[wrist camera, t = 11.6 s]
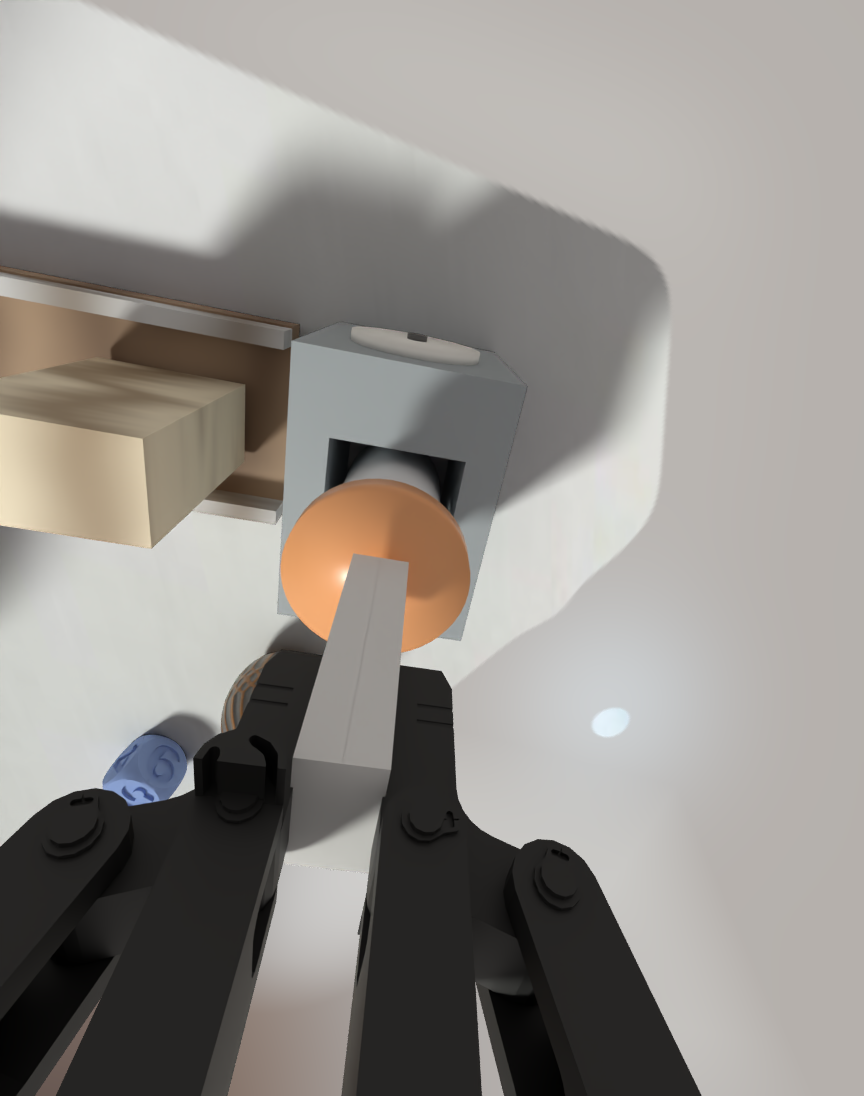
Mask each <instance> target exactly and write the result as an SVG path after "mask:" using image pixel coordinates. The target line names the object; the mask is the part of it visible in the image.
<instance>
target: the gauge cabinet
mask: <svg viewBox="0 0 864 1096" xmlns="http://www.w3.org/2000/svg"><path fill="white" fill-rule="evenodd" d="M526 390H527V385H526V384H525V383H524V382H523V381H522V380H521V379H520V378H519V377H518V376H517V375H516V374H515V373H514V372H513V371H512V370H511V369H510V368H509V367H508V366H507V364H506V363H505V362H504V361H503V360H502V359H501V358H500V357H499V356H498V355H497V354H496V353H495V352H491V351H486V350H481V349H476V348H471V347H467V346H464V345H460V344H457V343H453V342H449V341H445V340H441V339H437V338H433V337H428V336H425V335H421V334H416V333H408V332H402V331H396V330H390V329H383V328H374V327H365V326H360V325H354V324H349V323H344V322H338V323H336V324H333V325H330V326H328V327H325V328H323V329H320V330H318V331H315V332H312V333H310V334H307V335H305V336H302V337H300V338H297V339H295V340H292V341H291V360H290V380H289V399H288V418H287V437H286V456H285V475H284V494H283V513H282V532H281V552H280V565H281V557H282V552H283V549H284V545H285V543H286V541H287V538H288V536H289V534H290V532H291V531H292V529H293V527H294V525H295V524H296V522H297V520H298V519H299V517H300V516H301V514H302V513H303V511H304V510H305V509H306V508H307V507H308V505H309V504H310V503H311V502H312V501H314V500H315V499H316V498H317V497H318V496H320V495H321V494H323V493H324V492H326V491H328V490H329V489H331V488H333V487H336V486H338V485H341V484H343V483H344V481H345V478H346V476H347V474H348V472H349V469H350V467H351V465H352V463H353V461H354V460H355V458H356V457H357V456H358V455H359V454H360V452H362V451H363V450H364V449H365V448H367V447H369V446H370V445H373V446H378V447H384V448H389V449H395V450H401V451H406V452H412V453H417V454H423V455H428V457H429V458H430V459H431V460H432V462H433V464H434V465H435V467H436V470H437V473H438V476H439V485H440V503H441V504H442V505H443V506H444V507H445V508H446V509H447V510H448V511H449V512H450V513H451V515H452V516H453V517H454V519H455V520H456V522H457V523H458V525H459V526H460V529H461V531H462V533H463V535H464V538H465V542H466V545H467V551H468V559H469V566H470V588H469V593H468V597H467V600H466V603H465V605H464V607H463V609H462V611H461V613H460V615H459V616H458V617H457V619H456V620H455V622H454V623H453V624H452V625H451V626H450V627H449V628H448V629H447V630H446V631H445V632H444V633H442V634H441V635H440V636H439V637H437V638H444V639H451V640H458V641H461V639H462V635H463V631H464V627H465V623H466V620H467V616H468V612H469V608H470V604H471V600H472V597H473V593H474V589H475V585H476V581H477V577H478V574H479V570H480V566H481V562H482V558H483V555H484V551H485V547H486V543H487V539H488V535H489V532H490V528H491V524H492V520H493V516H494V513H495V509H496V505H497V501H498V497H499V493H500V490H501V486H502V482H503V478H504V474H505V470H506V467H507V463H508V459H509V455H510V451H511V448H512V444H513V440H514V436H515V432H516V428H517V425H518V421H519V417H520V413H521V409H522V405H523V402H524V398H525V394H526ZM277 614H281V615H288V616H295V617H298V616H297V615H296V613H295V612H294V610H293V609H292V607H291V606H290V604H289V602H288V600H287V598H286V595H285V592H284V589H283V586H282V580H281V566H280V571H279V590H278V609H277Z"/></svg>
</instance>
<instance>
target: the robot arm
mask: <svg viewBox="0 0 864 1096" xmlns="http://www.w3.org/2000/svg"><path fill="white" fill-rule="evenodd" d="M408 567H409V562H404V561H398V560H392V559H385V558H379V557H373V556H367V555H360V554H354V553H353V556H352V560H351V563H350V566H349V570H348V573H347V576H346V580H345V583H344V587H343V590H342V593H341V597H340V600H339V603H338V607H337V610H336V613H335V617H334V620H333V624H332V627H331V630H330V634H329V637H328V640H327V644H326V647H325V651H324V654H323V656H322V655H315V654H308V653H301V652H294V651H287V650H281V651H280V652H278V653H277V654H276V655H275V656H274V657H273V658H272V659H270V660H269V661H268V662H267V663H266V664H265V665H264V667H263V670H262V672H261V674H260V676H259V679H258V681H257V684H256V687H255V688H254V690H253V692H252V694H251V697H250V700H249V702H248V703H247V706H246V708H245V710H244V712H243V715H242V717H241V719H240V721H239V724H238V726H237V728H236V729H233V730H230V731H227V732H224V733H221V734H218V735H217V736H215V737H214V738H212V739H211V740H209V741H208V742H206V743H205V744H204V745H203V746H202V747H201V748H200V750H199V751H198V752H197V754H196V755H195V756H194V758H193V763H194V784H195V789H194V790H192V791H190V792H188V793H186V794H184V795H181V796H178V797H175V798H171V799H167V800H162V801H157V802H151V803H145V804H139V805H134V806H128V804H127V802H126V800H125V799H124V798H123V797H121V796H120V795H118V794H117V793H115V792H114V791H110V790H103V789H97V788H94V789H88V790H82V791H76V792H73V793H70V794H68V795H66V796H63V797H61V798H59V799H56V800H54V801H52V802H51V803H50V804H48V805H47V806H46V807H44V808H43V809H41V810H40V811H39V812H37V813H36V814H35V815H33V816H32V817H31V818H30V819H29V820H28V821H27V822H26V823H25V824H24V825H23V826H22V827H21V828H20V829H19V830H18V831H16V832H15V833H14V834H13V835H12V836H11V837H10V838H9V839H8V840H7V841H6V842H5V843H4V844H3V845H2V846H1V847H0V1096H35V1094H36V1093H37V1091H38V1090H39V1089H40V1087H41V1085H42V1084H43V1083H44V1081H45V1080H46V1078H47V1077H48V1075H49V1074H50V1072H51V1071H52V1069H53V1068H54V1066H55V1065H56V1063H57V1062H58V1060H59V1059H60V1058H61V1056H62V1055H63V1053H64V1052H65V1050H66V1049H67V1047H68V1046H69V1044H70V1043H71V1041H72V1040H73V1038H74V1037H75V1035H76V1034H77V1032H78V1031H79V1030H80V1028H81V1027H82V1025H83V1024H84V1022H85V1020H86V1019H87V1018H88V1016H89V1015H90V1013H91V1012H92V1010H93V1009H94V1007H95V1006H96V1004H97V1003H98V1002H99V1000H100V1002H99V1004H98V1006H97V1008H96V1010H95V1013H94V1015H93V1017H92V1019H91V1021H90V1023H89V1025H88V1028H87V1030H86V1032H85V1034H84V1036H83V1038H82V1040H81V1043H80V1045H79V1047H78V1049H77V1051H76V1054H75V1056H74V1058H73V1060H72V1062H71V1064H70V1066H69V1069H68V1071H67V1073H66V1075H65V1077H64V1080H63V1081H62V1084H61V1086H60V1088H59V1090H58V1092H57V1094H56V1096H227V1095H228V1091H229V1087H230V1083H231V1079H232V1075H233V1071H234V1067H235V1063H236V1059H237V1055H238V1051H239V1047H240V1043H241V1039H242V1035H243V1031H244V1028H245V1023H246V1019H247V1016H248V1012H249V1008H250V1004H251V999H252V996H253V992H254V988H255V984H256V980H257V976H258V972H259V968H260V964H261V960H262V956H263V952H264V948H265V944H266V940H267V936H268V932H269V928H270V924H271V920H272V916H273V912H274V908H275V904H276V897H277V884H278V880H279V877H280V873H281V869H282V865H283V861H284V864H287V865H297V866H305V867H315V868H325V869H333V870H343V871H351V872H361V873H369V876H368V885H367V893H366V898H365V902H364V907H363V912H362V916H361V921H360V925H359V930H358V935H360V939H359V948H358V957H357V965H356V973H355V982H354V991H353V1001H352V1008H351V1018H350V1026H349V1034H348V1043H347V1052H346V1061H345V1070H344V1079H343V1088H342V1095H341V1096H482V1091H481V1074H480V1056H479V1039H478V1022H477V1005H476V988H475V982H476V985H477V989H478V993H479V997H480V1001H481V1005H482V1009H483V1013H484V1017H485V1021H486V1025H487V1029H488V1033H489V1037H490V1041H491V1045H492V1049H493V1053H494V1057H495V1061H496V1065H497V1069H498V1073H499V1077H500V1081H501V1085H502V1089H503V1093H504V1096H701V1094H700V1092H699V1090H698V1087H697V1085H696V1083H695V1081H694V1079H693V1077H692V1075H691V1073H690V1071H689V1069H688V1067H687V1065H686V1063H685V1061H684V1059H683V1057H682V1055H681V1053H680V1050H679V1048H678V1046H677V1044H676V1042H675V1040H674V1038H673V1036H672V1034H671V1032H670V1030H669V1028H668V1026H667V1024H666V1022H665V1020H664V1017H663V1016H662V1013H661V1012H660V1009H659V1007H658V1005H657V1003H656V1001H655V999H654V997H653V995H652V993H651V991H650V989H649V987H648V985H647V982H646V980H645V978H644V976H643V974H642V972H641V970H640V968H639V966H638V964H637V962H636V960H635V958H634V956H633V954H632V952H631V950H630V947H629V946H628V943H627V942H626V939H625V937H624V935H623V933H622V931H621V929H620V927H619V925H618V923H617V921H616V919H615V917H614V915H613V913H612V910H611V908H610V906H609V904H608V903H607V900H606V898H605V896H604V894H603V892H602V890H601V888H600V886H599V884H598V882H597V880H596V878H595V876H594V874H593V873H592V871H591V870H590V868H589V867H588V865H587V864H586V863H585V861H584V860H583V859H582V858H581V857H580V856H579V855H577V854H576V853H575V852H574V851H573V850H572V849H571V848H569V847H567V846H565V845H562V844H560V843H558V842H556V841H553V840H541V839H537V840H535V841H532V842H530V843H527V844H525V845H524V846H523V847H522V848H521V849H518V848H516V847H514V846H511V845H510V844H507V843H505V842H503V841H501V840H499V839H497V838H494V837H492V836H490V835H489V834H487V833H485V832H484V831H482V830H480V829H479V828H478V827H477V826H476V825H475V824H474V823H472V822H471V820H470V819H469V818H468V816H467V815H466V814H465V812H464V811H463V809H462V807H461V805H460V802H459V800H458V795H457V790H456V773H455V772H456V771H455V752H454V750H455V749H454V730H453V712H452V689H451V687H450V685H449V683H448V682H447V680H446V678H445V676H444V674H443V673H442V671H437V670H430V669H423V668H416V667H409V666H402V665H400V659H401V648H402V636H403V625H404V613H405V602H406V590H407V578H408ZM284 857H285V858H284Z"/></svg>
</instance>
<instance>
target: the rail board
mask: <svg viewBox="0 0 864 1096" xmlns="http://www.w3.org/2000/svg"><path fill="white" fill-rule="evenodd" d="M299 327H300V324H295V323H290V322H284V321H279V320H274V319H269V318H264V317H259V316H254V315H249V314H244V313H239V312H233V311H228V310H223V309H218V308H213V307H208V306H203V305H198V304H193V303H188V302H183V301H177V300H172V299H167V298H162V297H157V296H152V295H147V294H142V293H137V292H132V291H126V290H121V289H116V288H111V287H106V286H101V285H96V284H91V283H86V282H81V281H76V280H70V279H65V278H60V277H55V276H50V275H45V274H40V273H35V272H30V271H25V270H20V269H14V268H9V267H4V266H0V378H3V377H7V376H12V375H17V374H21V373H26V372H31V371H35V370H40V369H45V368H50V367H54V366H59V365H64V364H68V363H73V362H78V361H82V360H87V359H92V358H96V357H99V358H105V359H110V360H116V361H121V362H126V363H132V364H137V365H143V366H148V367H154V368H159V369H164V370H170V371H175V372H181V373H186V374H191V375H197V376H202V377H208V378H213V379H219V380H224V381H229V382H235V383H240V384H245V448H244V462H243V463H242V464H241V465H240V466H239V467H238V468H237V469H236V470H235V471H234V472H233V473H232V474H231V475H229V476H228V477H227V478H226V479H225V480H224V481H223V482H222V483H221V484H220V485H219V486H218V487H217V488H216V489H215V490H214V491H212V492H211V493H210V494H209V495H208V496H207V497H206V498H205V499H204V500H203V501H202V502H201V503H200V504H199V505H198V506H196V507H195V508H194V509H193V510H192V511H193V512H200V513H206V514H212V515H218V516H224V517H230V518H237V519H243V520H249V521H255V522H261V523H267V524H274V525H276V523H277V522H278V520H279V518H280V517H281V515H282V513H283V494H284V475H285V456H286V437H287V418H288V399H289V380H290V360H291V341H292V340H295V339H297V338H299Z"/></svg>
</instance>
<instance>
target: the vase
mask: <svg viewBox="0 0 864 1096" xmlns="http://www.w3.org/2000/svg"><path fill="white" fill-rule="evenodd" d="M278 652H280V651H278ZM278 652H274V653H270V654H267V655H264V656H262V657H260V658H259V659H257V660H255V661H254V662H253V663H251V664H250V665H249V666H248V667H247V668H246V669H245V670H244V671H243V672H242V673H241V674H240V675H239V676H238V678H237V679H236V681H235V682H234V684H233V685H232V687H231V689H230V691H229V693H228V695H227V697H226V700H225V703H224V707H223V711H222V718H221V733H224V732H227V731H230V730H233V729H236V728H237V726H238V724H239V721H240V719H241V717H242V715H243V712H244V710H245V708H246V706H247V703H248V702H249V700H250V697H251V694H252V692H253V690H254V688H255V687H256V684H257V681H258V679H259V676H260V674H261V672H262V670H263V667H264V665H265V664H266V663H267V662H268V661H269V660H270V659H272V658H273V657H274V656H275V655H276V654H277V653H278ZM294 652H295V651H294Z"/></svg>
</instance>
